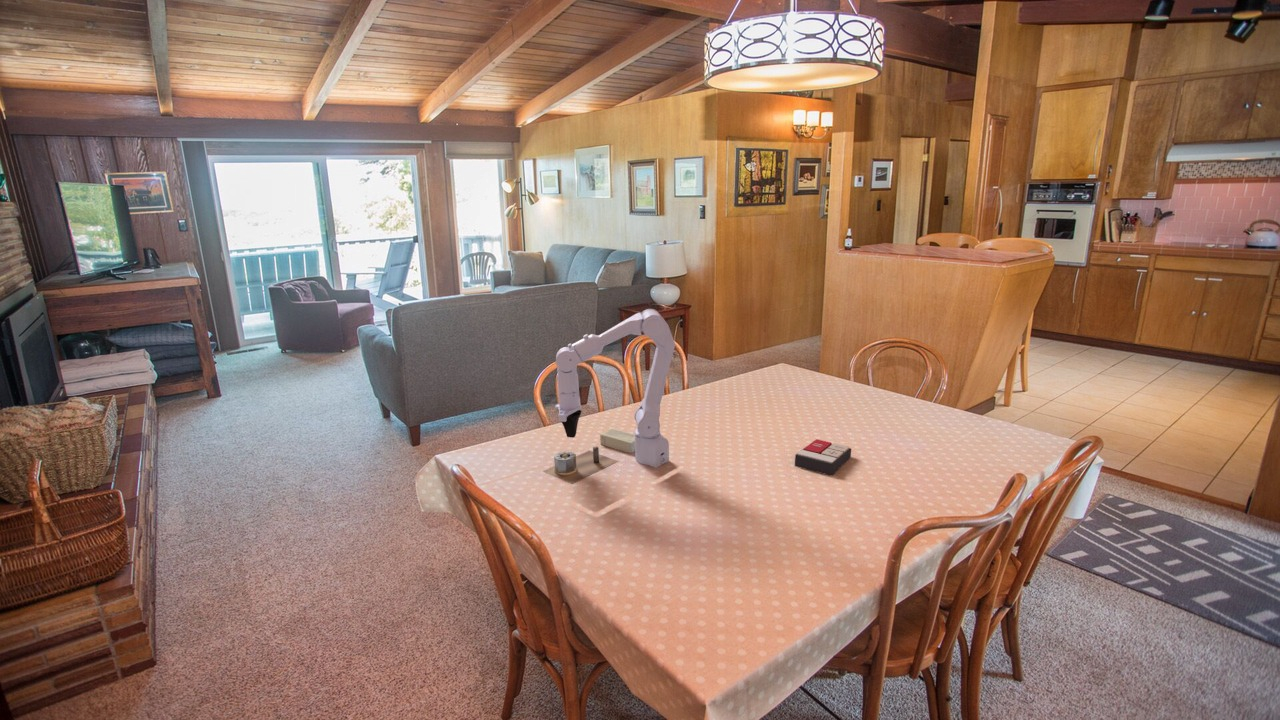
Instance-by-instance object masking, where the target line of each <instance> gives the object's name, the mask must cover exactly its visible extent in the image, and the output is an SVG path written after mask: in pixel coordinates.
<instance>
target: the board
mask: <svg viewBox="0 0 1280 720" xmlns="http://www.w3.org/2000/svg"><path fill="white" fill-rule="evenodd" d="M599 450H600V449H599V446H593V447H592V450H587V451H585V452H583V453H581V454H579V455H576V469H575V470H574V471H573V472H570V473H558V472H557V471H556V470H555V465H553V466H552V467H550V468H547V469H546V470H543V471H542V472H543V473H545V474H548V475H550V476H553V477H555V478H557V479H560V480H563V481H565V482H567V483H569V484H571V485H573V484H575V483H577V482H579V481H581V480H583V479H585V478H587V477H590V476H592V475H594V474H596V473H598V472H600V471H602V470H604V469H606V468H609V467H611V466H613V465H614V464H616V463H618V462H619V460H617V459H613V458H610V457H607V456H605V455H603V454H600V451H599ZM567 457H568V455H567V454H564V455H563V456H562V458H567Z"/></svg>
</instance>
